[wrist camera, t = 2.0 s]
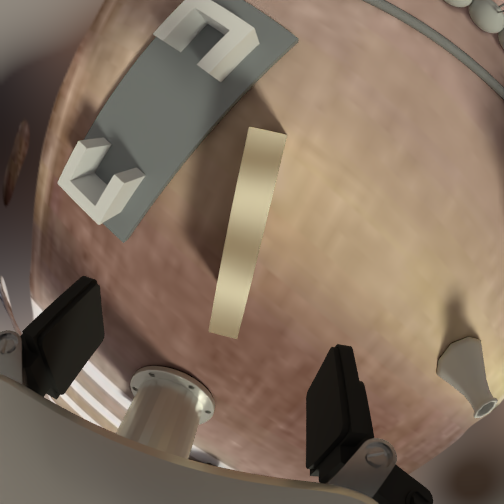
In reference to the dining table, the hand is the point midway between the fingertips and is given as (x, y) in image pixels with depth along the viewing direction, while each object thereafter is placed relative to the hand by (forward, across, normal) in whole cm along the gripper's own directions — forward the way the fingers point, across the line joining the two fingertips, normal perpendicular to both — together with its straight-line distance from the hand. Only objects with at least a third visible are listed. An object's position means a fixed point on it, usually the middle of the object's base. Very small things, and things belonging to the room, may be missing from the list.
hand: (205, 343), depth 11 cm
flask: (+17, -31, +11) cm, 37 cm away
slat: (+17, 0, 0) cm, 17 cm away
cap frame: (+17, +10, -8) cm, 22 cm away
